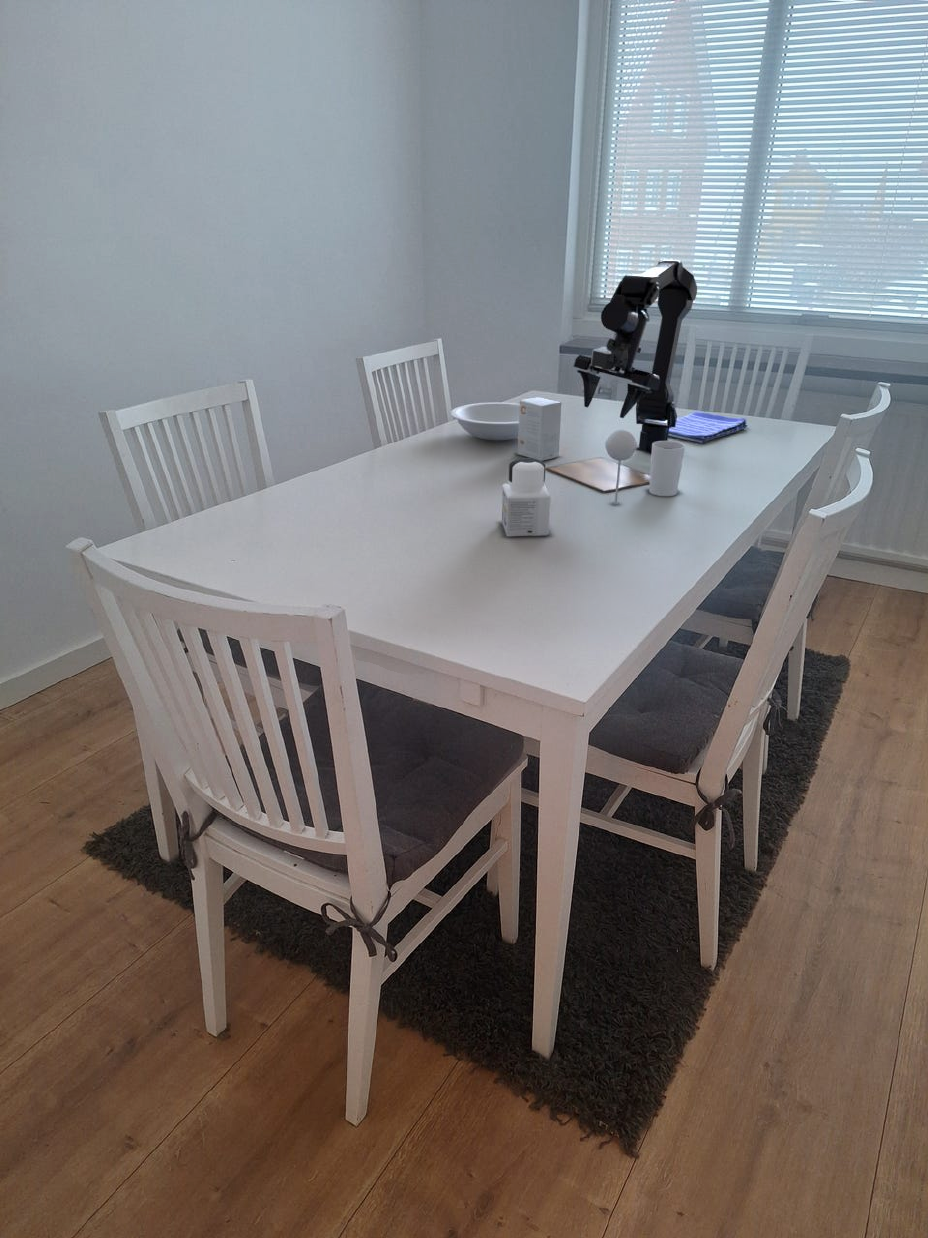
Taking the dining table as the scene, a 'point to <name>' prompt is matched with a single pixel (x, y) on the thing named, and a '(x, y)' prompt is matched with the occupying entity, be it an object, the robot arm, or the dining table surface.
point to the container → (526, 499)
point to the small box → (539, 428)
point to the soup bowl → (489, 420)
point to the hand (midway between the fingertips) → (603, 412)
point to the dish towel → (705, 427)
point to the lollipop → (620, 449)
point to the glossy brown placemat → (601, 474)
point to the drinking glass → (665, 467)
